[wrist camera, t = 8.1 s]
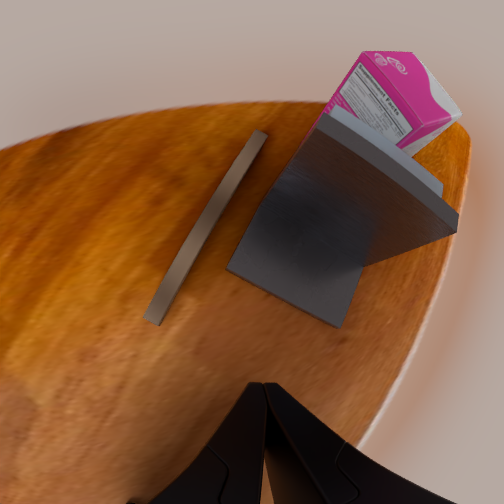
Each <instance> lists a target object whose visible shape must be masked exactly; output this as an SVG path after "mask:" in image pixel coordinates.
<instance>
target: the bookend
mask: <svg viewBox="0 0 504 504" xmlns="http://www.w3.org/2000/svg"><path fill="white" fill-rule="evenodd" d="M458 217H459V214H458V213H457V212H456V211H455V210H454V209H453V208H452V207H450V206H449V205H448V204H447V203H446V202H445V201H444V200H443V199H442V198H440V197H439V196H438V195H437V194H436V193H435V192H433V191H432V190H431V189H430V188H429V187H428V186H426V185H425V184H424V183H423V182H422V181H420V180H419V179H418V178H417V177H416V176H414V175H413V174H412V173H411V172H409V171H408V170H407V169H406V168H404V167H403V166H402V165H400V164H399V163H398V162H396V161H395V160H394V159H393V158H391V157H390V156H388V155H387V154H386V153H384V152H383V151H382V150H380V149H379V148H378V147H376V146H375V145H373V144H372V143H371V142H369V141H368V140H366V139H365V138H363V137H362V136H360V135H359V134H357V133H356V132H354V131H353V130H351V129H350V128H348V127H347V126H345V125H344V124H342V123H341V122H339V121H338V120H336V119H334V118H333V117H331V116H330V115H328V114H326V113H325V112H323V114H322V115H321V117H320V118H319V119H318V121H317V122H316V124H315V125H314V126H313V128H312V129H311V131H310V132H309V133H308V135H307V136H306V138H305V139H304V140H303V142H302V143H301V145H300V146H299V147H298V149H297V150H296V152H295V153H294V155H293V156H292V157H291V159H290V160H289V162H288V163H287V164H286V166H285V167H284V169H283V170H282V172H281V173H280V174H279V176H278V177H277V179H276V180H275V182H274V183H273V185H272V186H271V187H270V189H269V190H268V192H267V193H266V195H265V196H264V198H263V200H262V202H261V204H260V205H259V207H258V209H257V211H256V213H255V215H254V216H253V218H252V220H251V222H250V224H249V226H248V228H247V229H246V231H245V233H244V235H243V237H242V239H241V241H240V242H239V244H238V246H237V248H236V250H235V252H234V254H233V256H232V257H231V259H230V261H229V263H228V265H227V267H226V269H225V270H227V271H229V272H230V273H232V274H234V275H236V276H238V277H240V278H241V279H243V280H245V281H247V282H249V283H251V284H253V285H254V286H256V287H258V288H260V289H262V290H264V291H266V292H267V293H269V294H271V295H273V296H275V297H277V298H279V299H281V300H282V301H284V302H286V303H288V304H290V305H292V306H294V307H296V308H298V309H300V310H301V311H303V312H305V313H307V314H309V315H311V316H313V317H315V318H317V319H319V320H321V321H323V322H325V323H326V324H328V325H330V326H332V327H334V328H336V329H339V328H341V326H342V323H343V321H344V318H345V316H346V313H347V311H348V308H349V305H350V303H351V300H352V297H353V295H354V292H355V289H356V287H357V284H358V281H359V278H360V275H361V273H362V270H363V267H365V266H368V265H371V264H374V263H377V262H380V261H382V260H385V259H388V258H391V257H393V256H396V255H399V254H402V253H404V252H407V251H410V250H412V249H415V248H418V247H420V246H423V245H426V244H428V243H431V242H434V241H436V240H439V239H441V238H444V237H446V236H449V235H452V234H454V233H457V226H458Z"/></svg>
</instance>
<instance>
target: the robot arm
mask: <svg viewBox="0 0 504 504" xmlns="http://www.w3.org/2000/svg"><path fill="white" fill-rule="evenodd" d="M264 459H265V463H266V468H267V473H268V477H269V482H270V486H271V491H272V495H273V500H274V504H456V503H454V502H452V501H450V500H447V499H445V498H443V497H441V496H438V495H437V494H434V493H432V492H430V491H428V490H426V489H424V488H422V487H420V486H418V485H416V484H414V483H412V482H411V481H409V480H406V479H405V478H403V477H401V476H399V475H397V474H395V473H394V472H392V471H390V470H388V469H387V468H385V467H383V466H381V465H380V464H378V463H377V462H375V461H373V460H372V459H370V458H369V457H367V456H366V455H364V454H363V453H362V452H360V451H359V450H358V449H356V448H355V447H354V446H352V445H351V444H350V443H348V442H346V441H345V440H344V439H343V438H341V437H340V436H339V435H338V434H336V433H335V432H334V431H333V430H331V429H330V428H329V427H328V426H327V425H325V424H324V423H323V422H322V421H320V420H319V419H318V418H317V417H316V416H314V415H313V414H312V413H311V412H310V411H309V410H307V409H306V408H305V407H304V406H303V405H302V404H300V403H299V402H298V401H297V400H296V399H295V398H293V397H292V396H291V395H290V394H289V393H288V392H287V391H285V390H284V389H283V388H282V387H281V386H280V385H279V384H277V383H264V384H262V383H260V382H249V383H248V384H247V386H246V387H245V389H244V390H243V392H242V393H241V395H240V396H239V397H238V399H237V400H236V402H235V403H234V405H233V406H232V408H231V409H230V411H229V412H228V413H227V415H226V416H225V418H224V419H223V420H222V422H221V423H220V425H219V426H218V428H217V429H216V430H215V432H214V433H213V434H212V436H211V437H210V439H209V440H208V441H207V443H206V444H205V446H203V448H202V449H201V450H200V452H199V453H198V454H197V455H196V457H195V458H194V459H193V460H192V461H191V463H190V464H189V465H188V466H187V467H186V468H185V469H184V470H183V471H182V472H181V473H180V474H179V475H178V476H177V477H176V478H175V479H174V480H173V481H172V482H171V483H170V484H168V485H167V486H166V487H165V488H164V489H163V490H162V491H160V492H159V493H158V494H157V495H156V496H155V497H153V498H152V499H151V500H150V501H149V502H148V503H146V504H260V498H261V487H262V476H263V464H264ZM126 504H135V503H131V502H129V503H126Z"/></svg>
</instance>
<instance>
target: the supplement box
mask: <svg viewBox="0 0 504 504" xmlns="http://www.w3.org/2000/svg"><path fill="white" fill-rule="evenodd" d="M336 104H337V105H338V106H340V107H341V108H343V109H345V110H346V111H348V112H349V113H351V114H352V115H354V116H355V117H357V118H358V119H360V120H361V121H363V122H364V123H366V124H367V125H368V126H370V127H371V128H373V129H374V130H376V131H377V132H378V133H380V134H381V135H383V136H384V137H385V138H387V139H388V140H389V141H391V142H392V143H393V144H395V145H396V146H397V147H399V148H400V149H401V150H402V151H404V152H405V153H406V154H408V155H409V156H410V157H412V156H413V155H414V154H415V153H417V152H418V151H419V150H421V149H422V148H423V147H424V146H426V145H427V144H428V143H429V142H430V141H432V140H433V139H434V138H435V137H437V136H438V135H439V134H440V133H442V132H443V131H444V130H445V129H447V128H448V127H449V126H450V125H451V124H453V123H454V122H455V121H456V120H457V119H459V118H460V117H461V116H462V115H463V114H462V112H461V111H460V109H459V108H458V106H457V105H456V104H455V103H454V101H453V100H452V99H451V97H450V96H449V95H448V94H447V92H446V91H445V90H444V89H443V87H442V86H441V85H440V84H439V82H438V81H437V80H436V79H435V78H434V76H433V75H432V74H431V72H430V71H429V70H428V69H427V68H426V67H425V65H424V64H423V63H422V62H421V61H420V60H419V58H418V57H417V56H416V55H415V54H414V53H413V52H395V51H393V52H392V51H363V52H362V53H361V54H360V56H359V58H358V59H357V60H356V62H355V64H354V65H353V66H352V68H351V69H350V71H349V72H348V74H347V75H346V77H345V78H344V80H343V81H342V83H341V84H340V86H339V87H338V89H337V90H336V92H335V93H334V94H333V96H332V98H331V99H330V101H329V102H328V104H327V105H326V107H325V108H324V110H323V111H322V113H321V114H320V116H319V117H318V119H319V118H320V117H321V115H322V114H323V112H325V113H326V114H329V113H330V111H331V110H332V109H333V107H334V106H335V105H336ZM318 119H317V120H316V122H317V121H318ZM316 122H315V123H314V125H315V124H316ZM314 125H313V126H314ZM313 126H312V128H313ZM312 128H311V129H312ZM311 129H310V131H311ZM310 131H309V132H310ZM309 132H308V133H309ZM307 135H308V134H307ZM307 135H306V136H307ZM305 138H306V137H305ZM305 138H304V139H305ZM302 142H303V141H302ZM300 145H301V144H300Z"/></svg>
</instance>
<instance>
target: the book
mask: <svg viewBox="0 0 504 504" xmlns="http://www.w3.org/2000/svg"><path fill="white" fill-rule="evenodd" d="M328 115H330V116H331V117H333V118H334V119H336V120H338V121H339V122H341V123H342V124H344V125H345V126H347V127H348V128H350V129H351V130H353V131H354V132H356V133H357V134H359V135H360V136H362V137H363V138H365V139H366V140H368V141H369V142H371V143H372V144H373V145H375V146H376V147H378V148H379V149H380V150H382V151H383V152H384V153H386V154H387V155H388V156H390V157H391V158H393V159H394V160H395V161H396V162H398V163H399V164H400V165H402V166H403V167H404V168H406V169H407V170H408V171H409V172H411V173H412V174H413V175H414V176H416V177H417V178H418V179H419V180H420V181H422V182H423V183H424V184H425V185H426V186H428V187H429V188H430V189H431V190H432V191H433V192H435V193H436V194H437V195H438V196H439V197H440V198H442V191H443V184H442V183H441V182H440V181H439V180H437V179H436V178H435V177H434V176H433V175H432V174H431V173H429V172H428V171H427V170H426V169H425V168H423V167H422V166H421V165H420V164H419V163H417V162H416V161H415V160H414V159H413V158H411V157H410V156H409V155H408V154H406V153H405V152H404V151H402V150H401V149H400V148H399V147H397V146H396V145H395V144H393V143H392V142H391V141H389V140H388V139H387V138H385V137H384V136H383V135H381V134H380V133H378V132H377V131H376V130H374V129H373V128H371V127H370V126H368V125H367V124H366V123H364V122H363V121H361V120H360V119H358V118H357V117H355V116H354V115H352V114H351V113H349V112H348V111H346V110H345V109H343V108H341V107H340V106H338V105H337V104H336V105H335V106H334V107H333V109H332V110H331V111H330V113H329V114H328Z"/></svg>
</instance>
